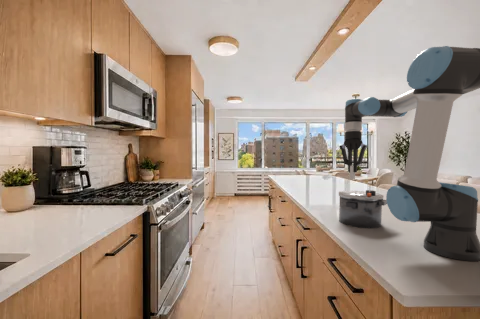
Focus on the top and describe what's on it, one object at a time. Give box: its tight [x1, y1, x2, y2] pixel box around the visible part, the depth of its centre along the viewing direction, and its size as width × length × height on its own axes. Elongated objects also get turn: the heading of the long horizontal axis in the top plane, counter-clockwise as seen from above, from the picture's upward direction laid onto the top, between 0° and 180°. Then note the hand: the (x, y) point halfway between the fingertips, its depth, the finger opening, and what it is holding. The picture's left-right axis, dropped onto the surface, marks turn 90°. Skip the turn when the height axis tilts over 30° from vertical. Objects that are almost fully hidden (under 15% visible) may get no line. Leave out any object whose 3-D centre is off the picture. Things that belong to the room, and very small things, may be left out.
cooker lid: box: [338, 189, 384, 201], centre depth 116 cm, size 19×19×4 cm
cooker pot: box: [338, 196, 387, 229], centre depth 116 cm, size 24×20×12 cm
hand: (352, 178), depth 121 cm, fingers closed
